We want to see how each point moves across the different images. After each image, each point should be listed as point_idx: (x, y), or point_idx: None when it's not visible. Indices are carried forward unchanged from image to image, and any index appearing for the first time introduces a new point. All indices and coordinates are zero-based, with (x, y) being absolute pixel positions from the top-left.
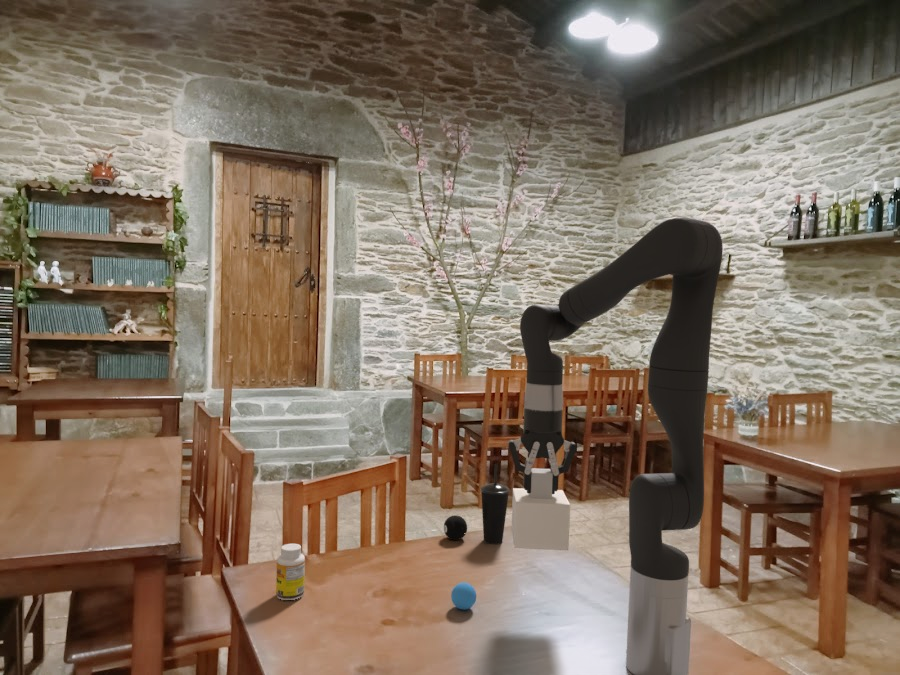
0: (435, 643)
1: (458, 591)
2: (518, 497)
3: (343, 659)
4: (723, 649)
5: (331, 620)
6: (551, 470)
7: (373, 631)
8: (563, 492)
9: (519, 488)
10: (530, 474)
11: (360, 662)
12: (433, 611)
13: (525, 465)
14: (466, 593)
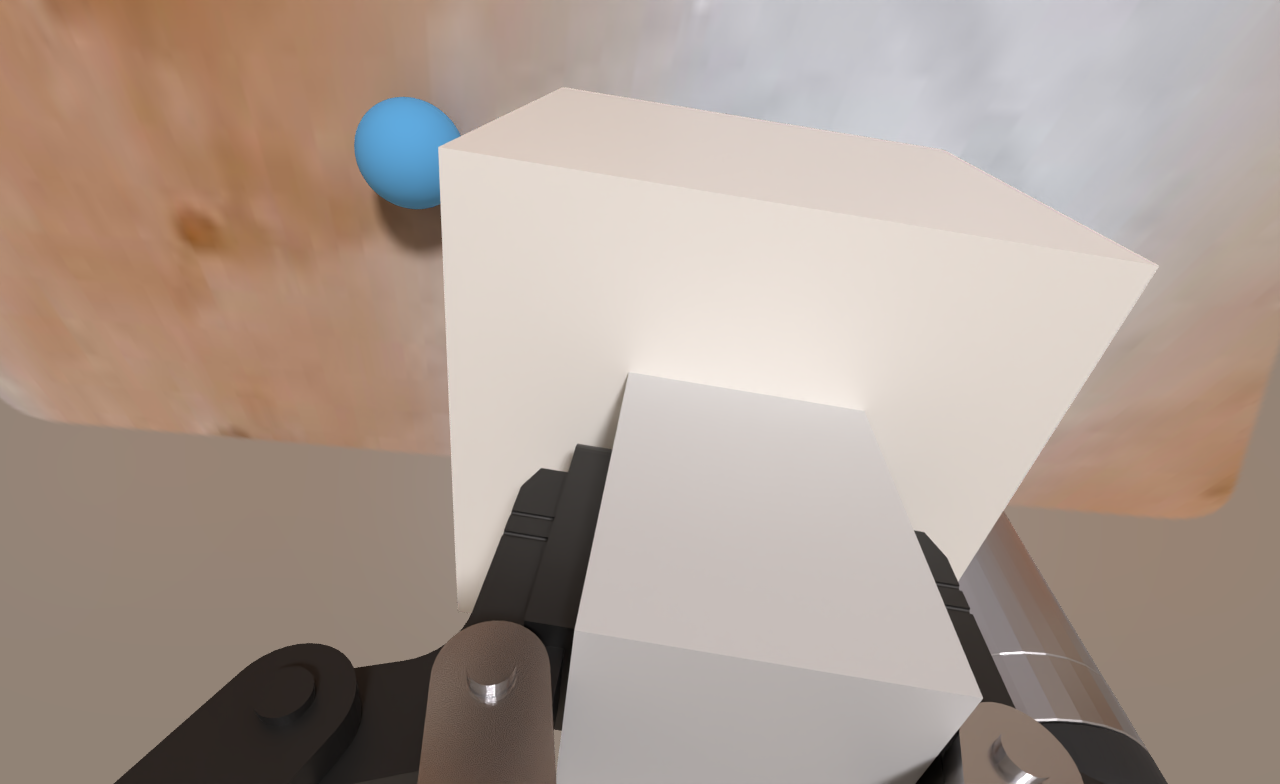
0: (371, 358)
1: (378, 192)
2: (485, 510)
3: (169, 405)
4: (1198, 449)
5: (20, 212)
6: (954, 741)
7: (179, 286)
8: (1085, 373)
9: (533, 169)
10: (555, 715)
11: (213, 419)
12: (325, 164)
13: (440, 765)
14: (413, 206)
